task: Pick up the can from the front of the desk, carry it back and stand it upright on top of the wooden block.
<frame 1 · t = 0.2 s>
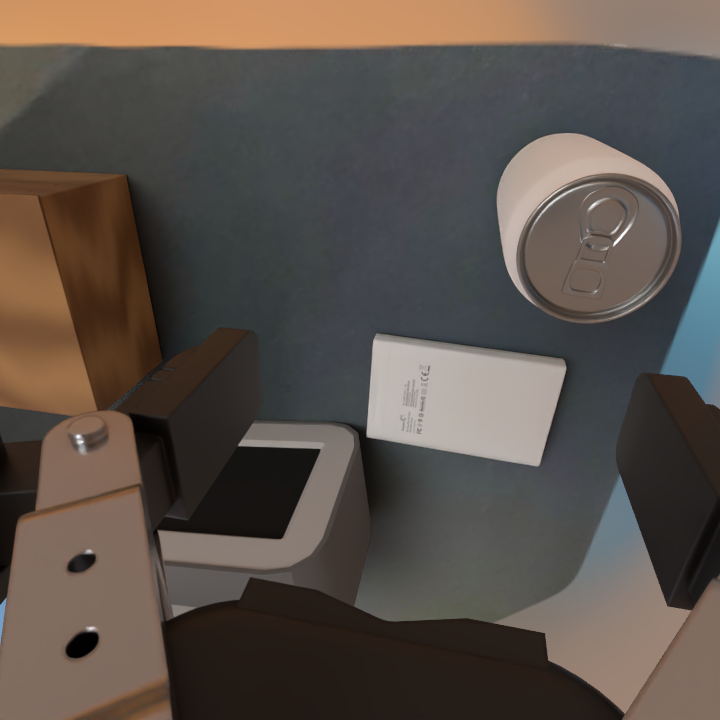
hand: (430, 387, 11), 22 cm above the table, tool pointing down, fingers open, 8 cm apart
wooden block: (73, 270, 38), on the table
can: (554, 192, 29), on the table
hard drive: (459, 393, 37), on the table
alarm clock: (281, 474, 44), on the table
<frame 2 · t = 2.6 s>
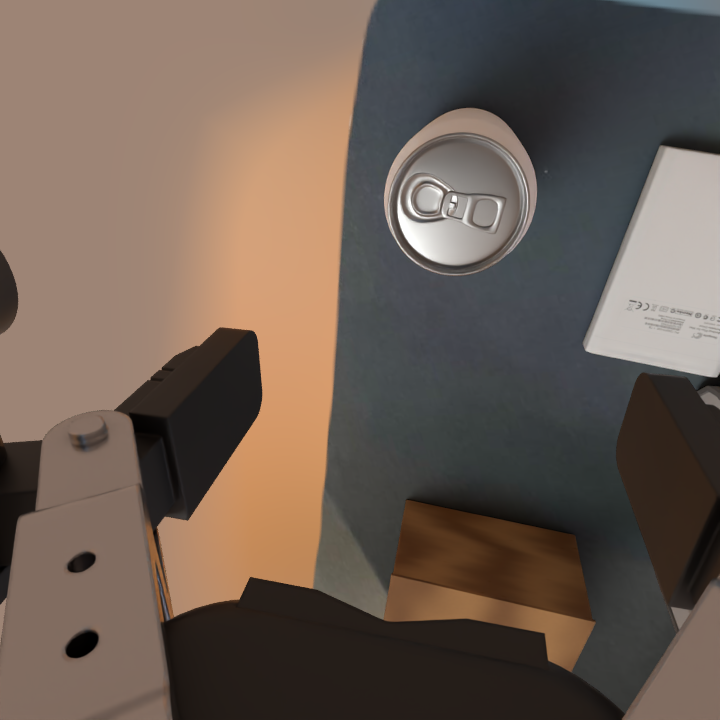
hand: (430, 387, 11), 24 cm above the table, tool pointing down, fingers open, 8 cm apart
wooden block: (474, 565, 46), on the table
can: (464, 166, 31), on the table
hard drive: (684, 264, 31), on the table
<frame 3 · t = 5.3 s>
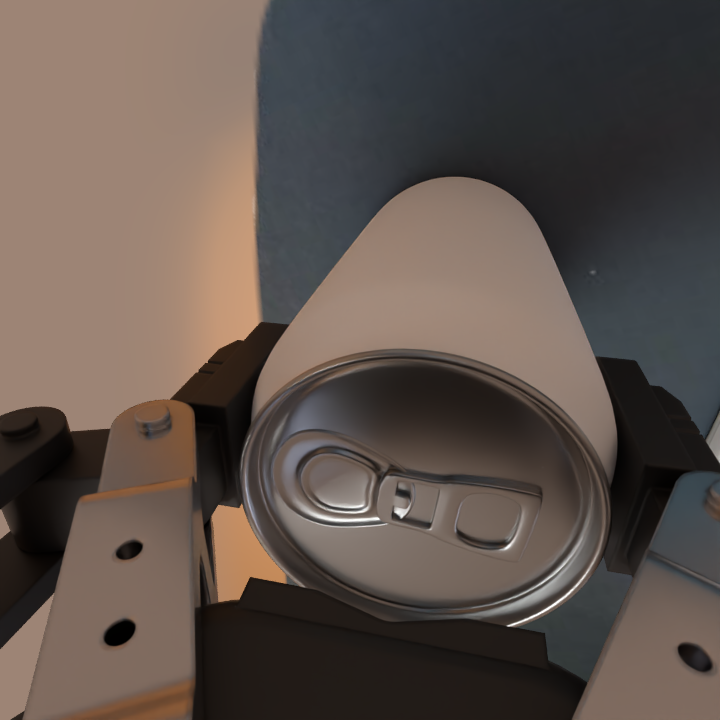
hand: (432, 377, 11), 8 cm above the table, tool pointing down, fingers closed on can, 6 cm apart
can: (450, 268, 18), on the table, touching gripper
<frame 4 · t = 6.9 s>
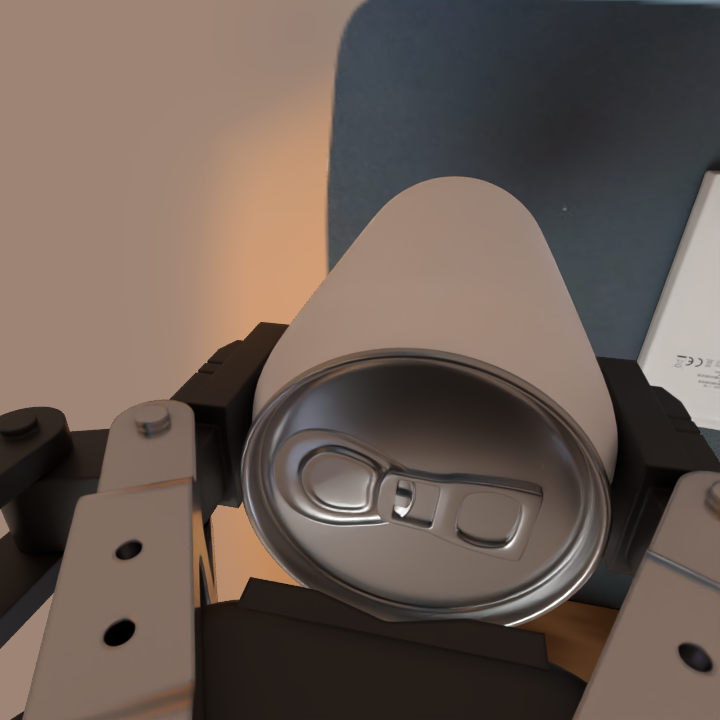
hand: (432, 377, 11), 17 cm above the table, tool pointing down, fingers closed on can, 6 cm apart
wooden block: (509, 642, 41), on the table
can: (450, 268, 18), point 9 cm above the table, touching gripper
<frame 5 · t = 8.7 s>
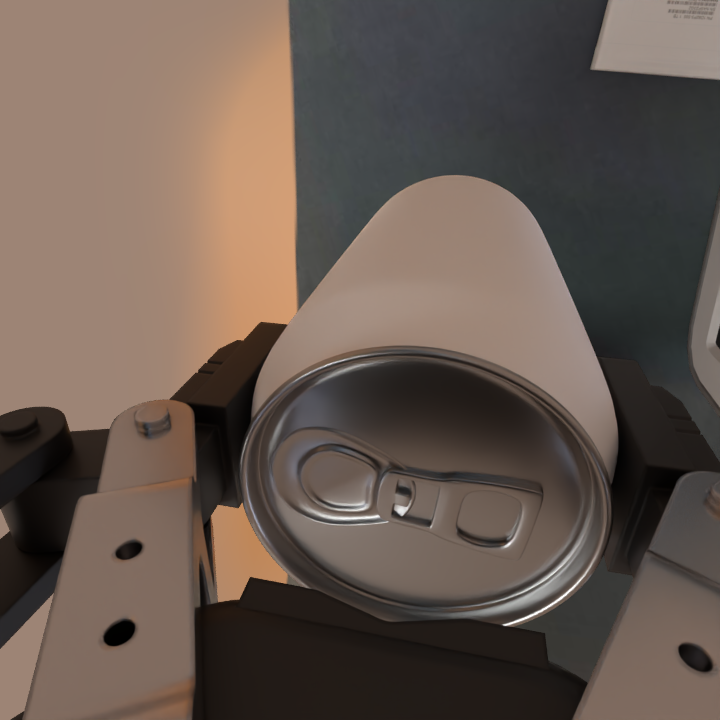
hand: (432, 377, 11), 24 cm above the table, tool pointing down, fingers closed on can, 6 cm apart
can: (450, 267, 18), point 16 cm above the table, touching gripper
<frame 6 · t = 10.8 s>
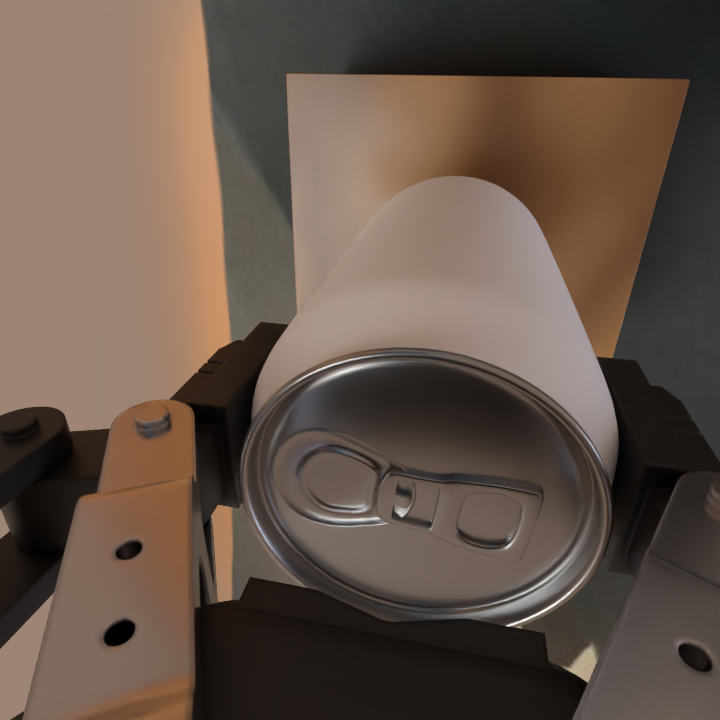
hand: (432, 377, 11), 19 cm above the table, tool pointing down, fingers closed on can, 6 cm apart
wooden block: (463, 204, 28), on the table
can: (450, 267, 18), point 11 cm above the table, touching gripper
when the fingers open (16 cm above the table, at t = 12.3 s): can stays where it is, resting on wooden block.
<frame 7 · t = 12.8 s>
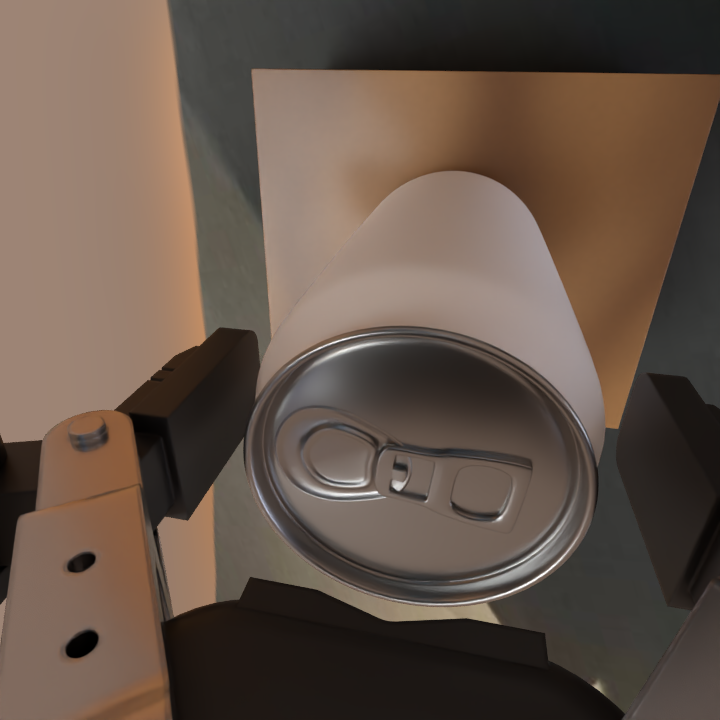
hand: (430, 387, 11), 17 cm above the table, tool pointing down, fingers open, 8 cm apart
wooden block: (459, 215, 26), on the table
can: (448, 261, 19), point 8 cm above the table, touching wooden block
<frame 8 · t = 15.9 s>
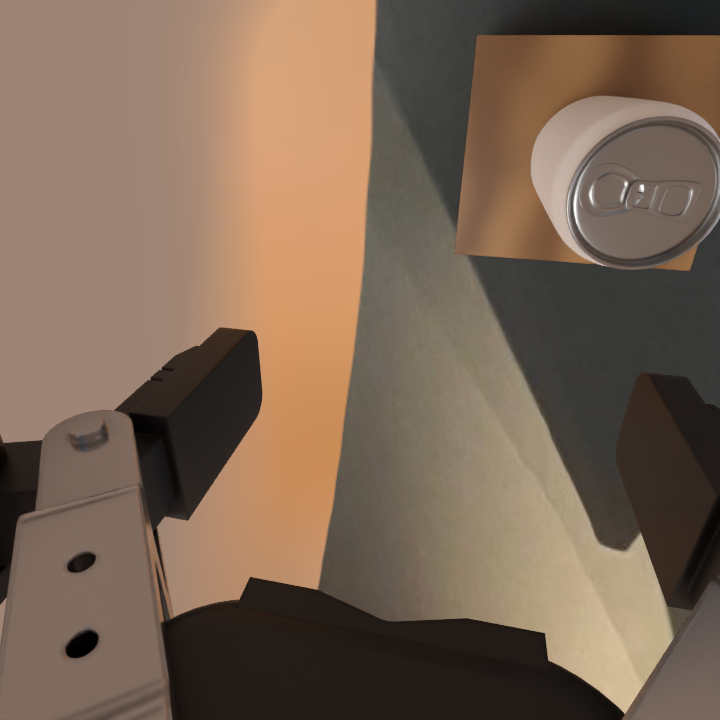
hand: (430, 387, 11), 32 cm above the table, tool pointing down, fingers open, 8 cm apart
wooden block: (568, 145, 37), on the table
can: (587, 157, 30), point 8 cm above the table, touching wooden block
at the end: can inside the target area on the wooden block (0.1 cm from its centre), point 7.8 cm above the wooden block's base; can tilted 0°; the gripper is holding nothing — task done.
